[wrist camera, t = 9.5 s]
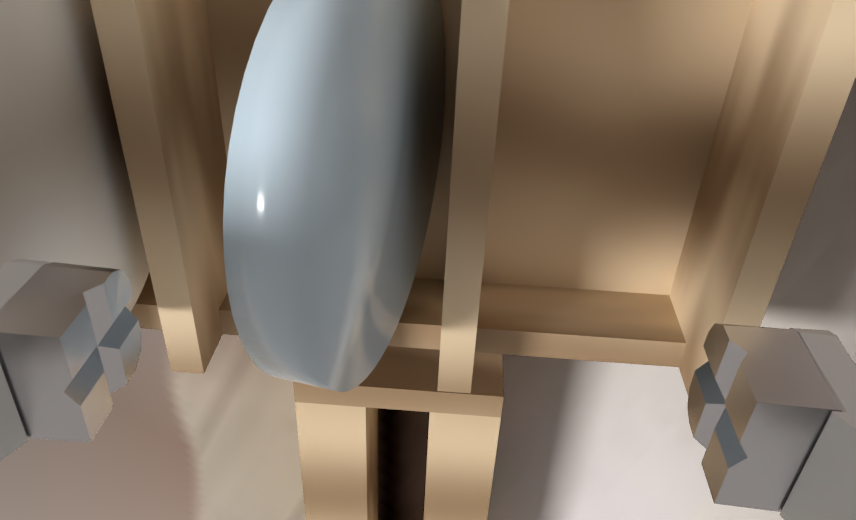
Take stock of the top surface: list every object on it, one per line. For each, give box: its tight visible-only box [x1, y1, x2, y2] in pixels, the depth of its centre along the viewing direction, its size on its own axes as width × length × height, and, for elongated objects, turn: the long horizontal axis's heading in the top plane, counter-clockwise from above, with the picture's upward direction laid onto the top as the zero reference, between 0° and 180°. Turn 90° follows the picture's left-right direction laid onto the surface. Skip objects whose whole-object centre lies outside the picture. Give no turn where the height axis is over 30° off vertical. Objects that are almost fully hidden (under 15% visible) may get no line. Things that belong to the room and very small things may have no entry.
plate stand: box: [293, 346, 504, 520], centre depth 24 cm, size 11×6×3 cm, turn 178°
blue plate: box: [223, 0, 445, 392], centre depth 14 cm, size 8×1×8 cm, turn 177°
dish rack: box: [0, 0, 856, 396], centre depth 14 cm, size 12×20×9 cm, turn 88°
